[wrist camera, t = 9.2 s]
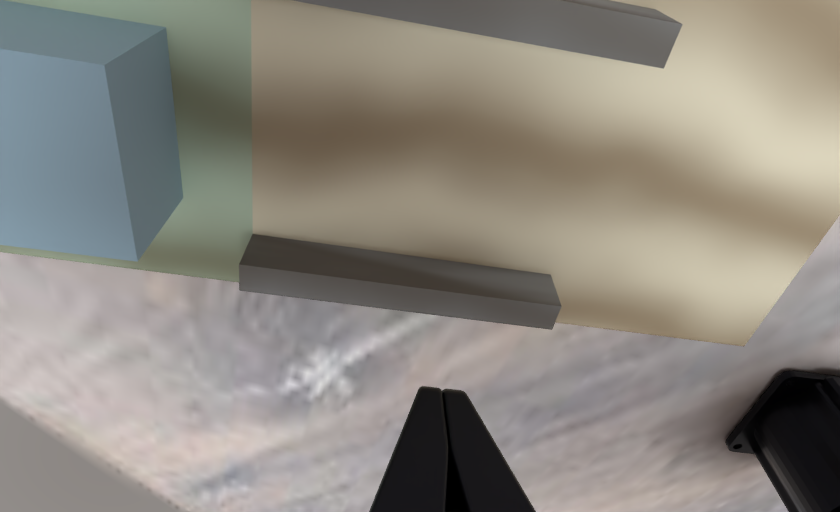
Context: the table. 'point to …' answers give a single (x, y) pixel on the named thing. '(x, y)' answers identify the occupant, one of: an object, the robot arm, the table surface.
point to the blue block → (85, 133)
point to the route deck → (502, 155)
